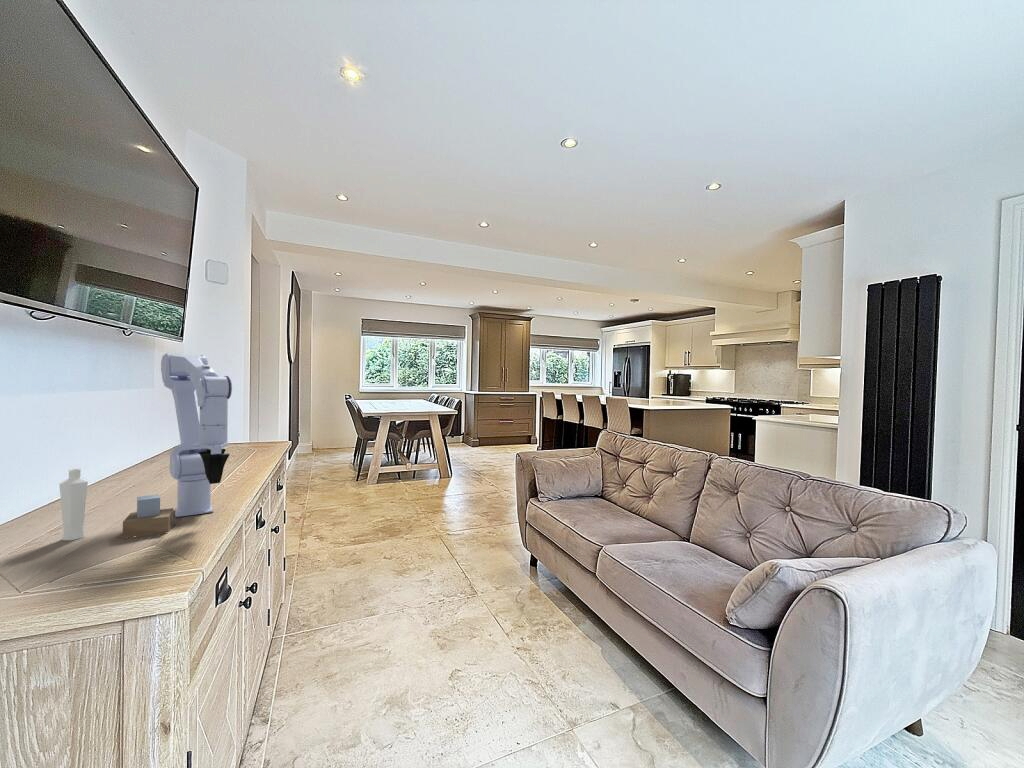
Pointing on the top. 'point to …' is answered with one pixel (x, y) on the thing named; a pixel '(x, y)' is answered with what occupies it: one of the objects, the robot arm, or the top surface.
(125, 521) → the walnut block
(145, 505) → the slate-blue cube
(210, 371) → the robot arm
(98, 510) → the top surface
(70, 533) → the perfume bottle
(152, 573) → the top surface
